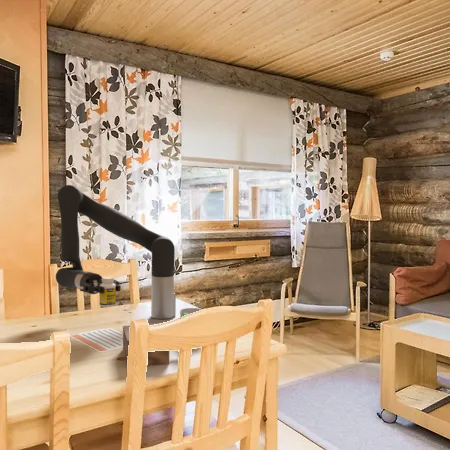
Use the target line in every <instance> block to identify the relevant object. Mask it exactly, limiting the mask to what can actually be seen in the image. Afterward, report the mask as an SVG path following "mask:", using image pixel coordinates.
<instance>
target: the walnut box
mask: <svg viewBox="0 0 450 450" xmlns="http://www.w3.org/2000/svg"><path fill="white" fill-rule="evenodd" d="M148 324H149V325H154V324H155V323H148ZM157 324H160V323H158V322H157ZM129 327H130V325H123V326H122V333H123V347H122V351H123V354H124V358H125V362H126V364H127V356H128V345H129ZM151 365H152V366H161V365H170V350H169V351H155V352H148V366H147V367H150V366H151Z"/></svg>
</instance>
